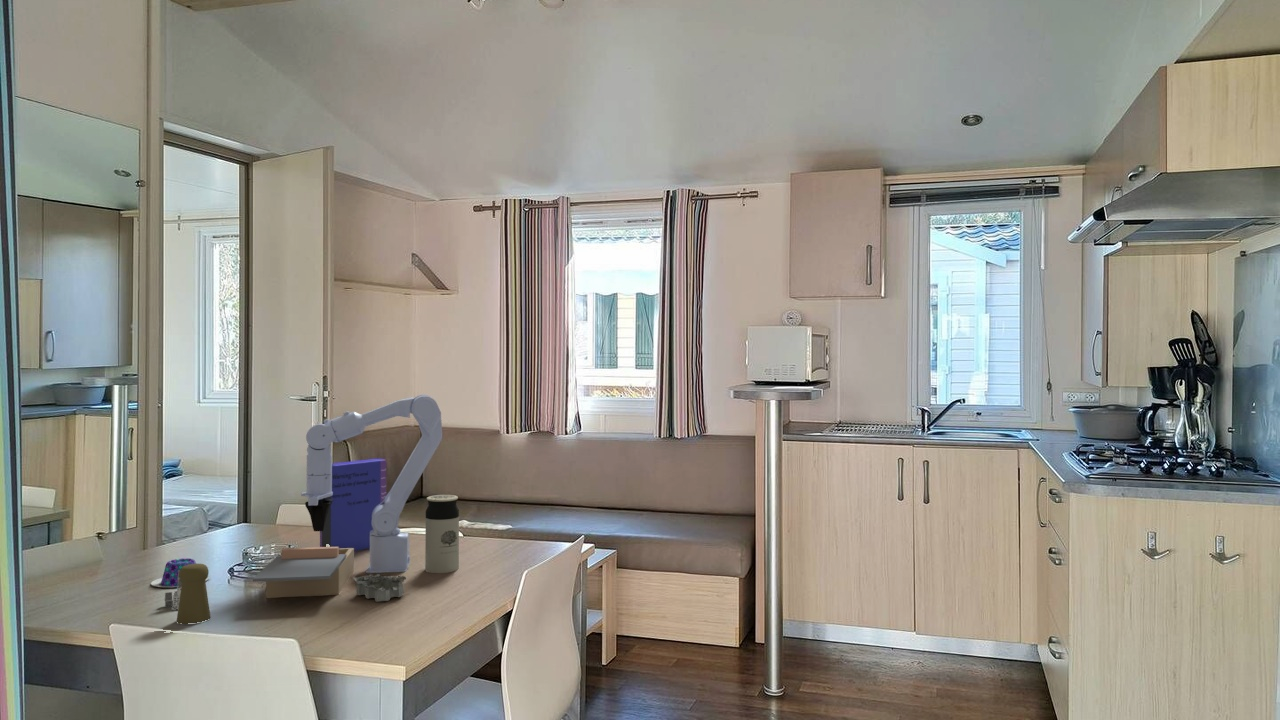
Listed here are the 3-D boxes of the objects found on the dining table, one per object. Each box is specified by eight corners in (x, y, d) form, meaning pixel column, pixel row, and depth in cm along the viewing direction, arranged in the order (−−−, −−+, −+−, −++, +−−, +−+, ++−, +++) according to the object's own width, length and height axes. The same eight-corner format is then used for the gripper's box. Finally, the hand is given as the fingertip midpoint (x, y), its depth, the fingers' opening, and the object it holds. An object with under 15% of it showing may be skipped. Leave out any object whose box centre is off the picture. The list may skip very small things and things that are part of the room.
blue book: (375, 543, 239) (375, 458, 239) (386, 546, 236) (386, 459, 236) (319, 555, 225) (320, 464, 225) (330, 557, 222) (331, 465, 222)
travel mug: (422, 568, 211) (422, 495, 211) (454, 565, 215) (455, 493, 215) (428, 576, 204) (429, 500, 204) (462, 572, 207) (462, 498, 207)
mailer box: (353, 572, 207) (353, 548, 207) (338, 595, 187) (338, 568, 187) (288, 575, 204) (288, 550, 204) (266, 598, 185) (266, 570, 185)
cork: (184, 615, 172) (184, 561, 172) (215, 615, 172) (215, 560, 172) (170, 625, 166) (170, 568, 166) (203, 624, 166) (203, 568, 166)
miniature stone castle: (147, 603, 181) (148, 567, 181) (194, 599, 185) (194, 563, 185) (143, 615, 173) (143, 577, 173) (192, 610, 177) (192, 573, 177)
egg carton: (408, 595, 185) (408, 576, 185) (378, 604, 179) (377, 585, 179) (381, 584, 192) (381, 566, 192) (351, 593, 186) (350, 574, 186)
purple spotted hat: (140, 585, 196) (140, 562, 196) (193, 574, 206) (193, 552, 206) (166, 593, 189) (166, 569, 189) (219, 581, 199) (219, 559, 199)
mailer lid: (346, 556, 197) (346, 545, 197) (329, 578, 177) (329, 566, 177) (277, 558, 194) (277, 547, 194) (252, 581, 174) (252, 568, 174)
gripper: (308, 470, 212) (308, 525, 212) (294, 478, 198) (294, 537, 198) (338, 470, 213) (337, 524, 213) (326, 478, 199) (326, 536, 199)
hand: (318, 530), depth 205 cm, fingers closed
